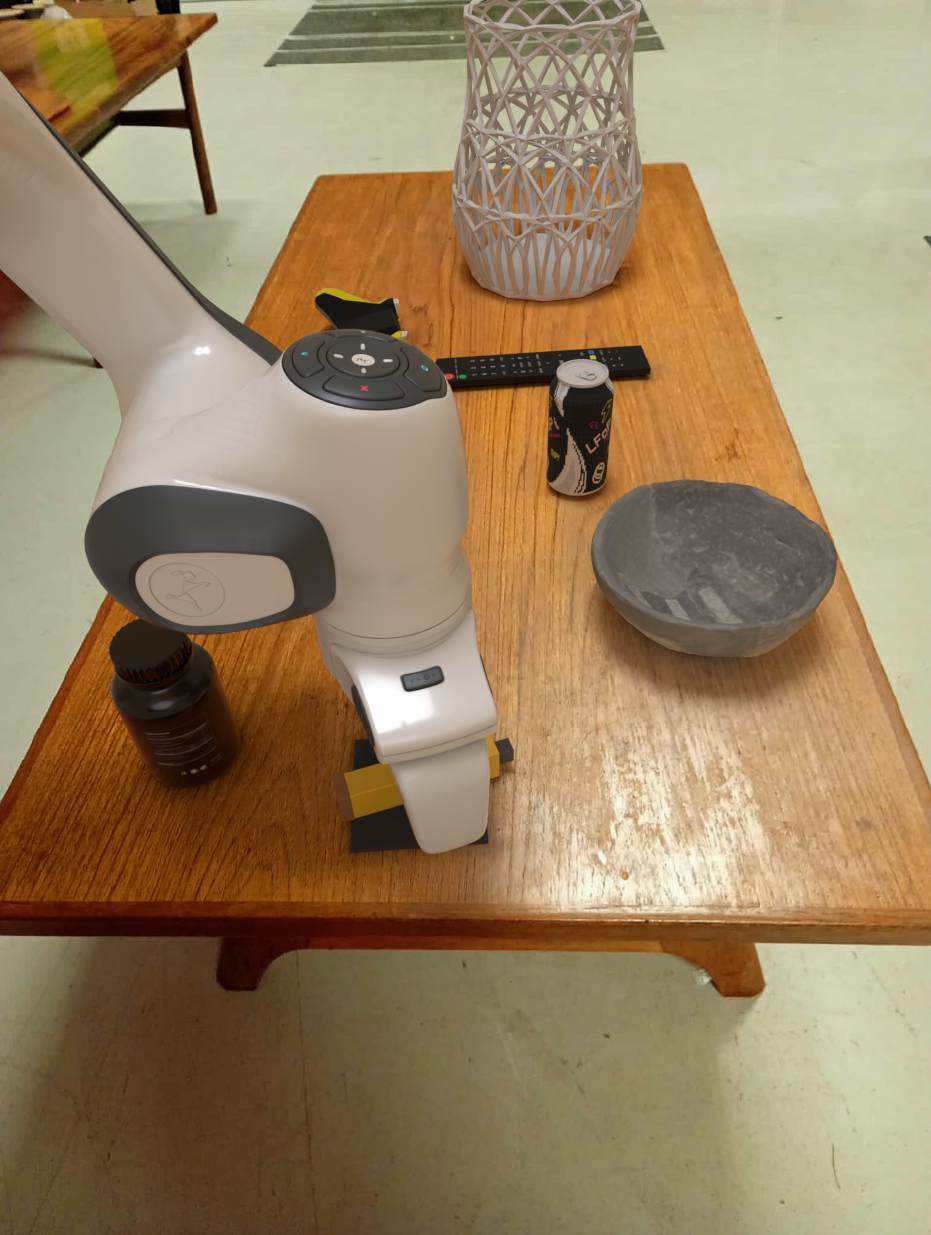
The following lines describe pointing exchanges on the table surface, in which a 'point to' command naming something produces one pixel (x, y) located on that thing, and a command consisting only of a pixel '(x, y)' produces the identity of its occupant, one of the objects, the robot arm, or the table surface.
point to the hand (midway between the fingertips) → (412, 765)
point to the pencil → (393, 783)
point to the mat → (383, 817)
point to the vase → (547, 159)
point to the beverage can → (579, 427)
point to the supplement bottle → (173, 705)
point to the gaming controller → (360, 313)
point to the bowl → (712, 566)
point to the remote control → (538, 365)
